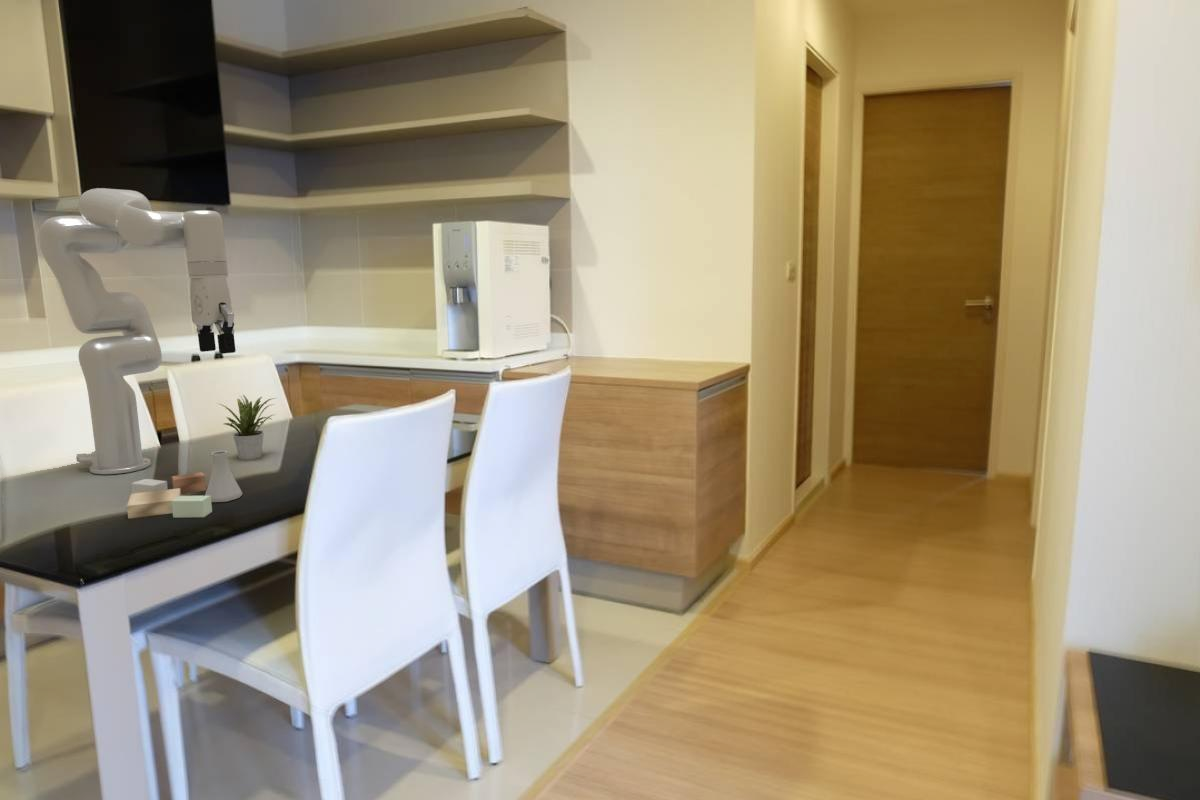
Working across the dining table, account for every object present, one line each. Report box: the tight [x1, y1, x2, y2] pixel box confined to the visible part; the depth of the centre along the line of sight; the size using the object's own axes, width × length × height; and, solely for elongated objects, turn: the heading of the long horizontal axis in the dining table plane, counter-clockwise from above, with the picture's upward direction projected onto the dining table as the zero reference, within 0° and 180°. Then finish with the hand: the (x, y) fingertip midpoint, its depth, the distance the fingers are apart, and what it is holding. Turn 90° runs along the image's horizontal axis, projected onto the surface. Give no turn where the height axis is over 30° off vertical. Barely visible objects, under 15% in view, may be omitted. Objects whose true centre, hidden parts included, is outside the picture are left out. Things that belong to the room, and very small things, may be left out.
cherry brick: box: [171, 471, 207, 495], centre depth 175 cm, size 6×4×4 cm, turn 126°
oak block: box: [126, 488, 182, 519], centre depth 162 cm, size 9×9×3 cm
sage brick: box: [172, 495, 213, 519], centre depth 159 cm, size 6×4×4 cm, turn 91°
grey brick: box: [131, 478, 168, 494], centre depth 170 cm, size 6×4×4 cm, turn 71°
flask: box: [204, 450, 244, 503], centre depth 169 cm, size 7×7×10 cm
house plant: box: [216, 394, 277, 461], centre depth 202 cm, size 14×14×16 cm
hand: (217, 352), depth 171 cm, fingers open, 9 cm apart
